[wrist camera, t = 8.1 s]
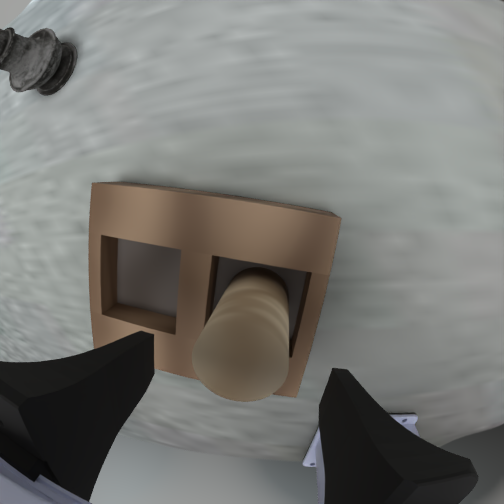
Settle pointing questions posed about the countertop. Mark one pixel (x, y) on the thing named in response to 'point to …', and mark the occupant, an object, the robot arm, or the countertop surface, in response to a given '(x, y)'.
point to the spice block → (200, 265)
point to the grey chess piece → (36, 60)
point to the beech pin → (246, 338)
